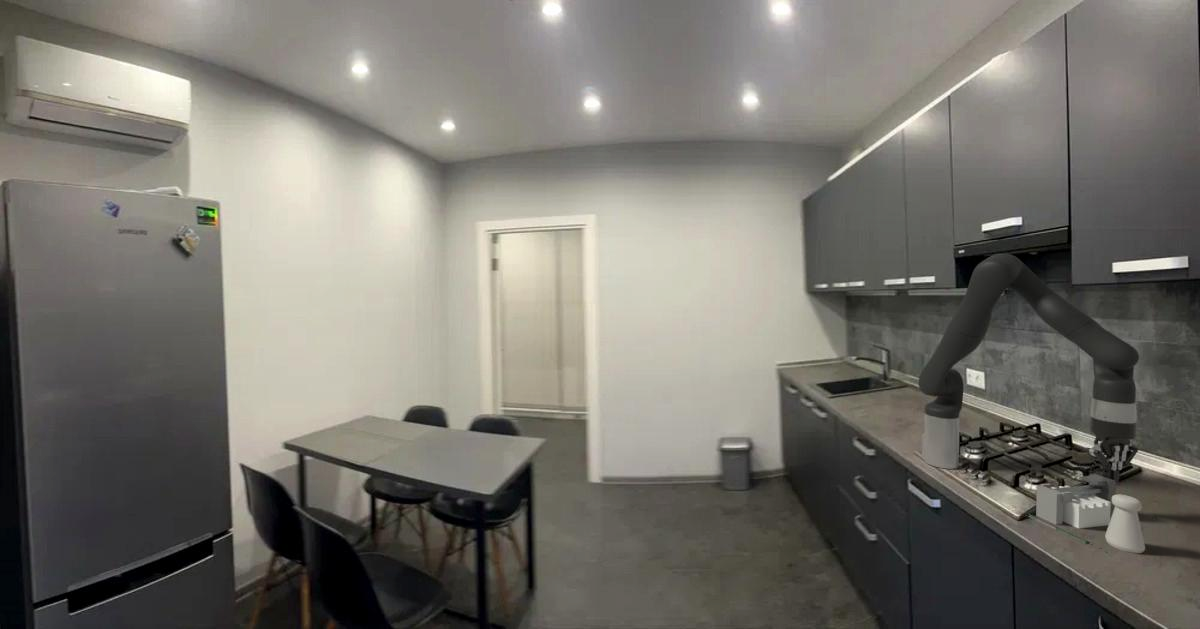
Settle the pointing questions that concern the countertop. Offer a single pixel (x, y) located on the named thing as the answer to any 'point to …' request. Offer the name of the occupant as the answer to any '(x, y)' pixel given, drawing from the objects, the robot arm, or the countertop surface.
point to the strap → (1080, 490)
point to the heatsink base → (1070, 509)
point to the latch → (1103, 488)
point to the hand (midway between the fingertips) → (1110, 482)
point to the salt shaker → (1125, 525)
